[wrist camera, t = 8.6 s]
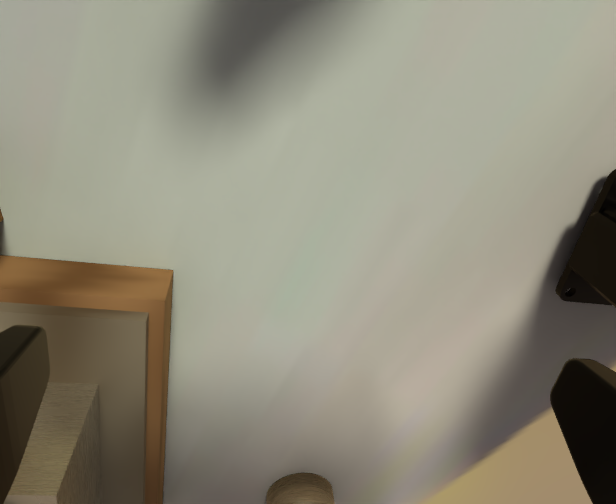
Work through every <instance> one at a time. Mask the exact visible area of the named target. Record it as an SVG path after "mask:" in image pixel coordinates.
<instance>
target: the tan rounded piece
mask: <svg viewBox="0 0 616 504" xmlns="http://www.w3.org/2000/svg"><path fill="white" fill-rule="evenodd" d="M266 503H267V504H335V502H334V496H333V490H332V486H331V484H330V483H329V482H328V481H327V480H326V479H325V478H323V477H321V476H319V475H316V474H312V473H296V474H291V475H288V476H285V477H283V478H281V479H279V480H277V481H276V482H275V483H274V484H273V485H272V486H271V487H270V488H269V490H268V492H267V496H266Z"/></svg>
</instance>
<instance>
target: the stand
mask: <svg viewBox="0 0 616 504" xmlns="http://www.w3.org/2000/svg"><path fill="white" fill-rule="evenodd" d="M172 285H173V270H165V269H153V268H142V267H130V266H119V265H107V264H95V263H84V262H72V261H61V260H49V259H38V258H26V257H15V256H3V255H0V332H2V331H4V330H6V329H7V328H9V327H11V326H13V325H34V326H41V327H43V328H44V329H45V331H46V334H47V342H48V351H49V360H50V377H49V381H48V382H56V383H77V384H98V387H99V414H100V441H101V468H102V494H103V504H162V503H163V481H164V459H165V437H166V416H167V394H168V372H169V350H170V329H171V307H172Z"/></svg>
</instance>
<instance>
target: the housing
mask: <svg viewBox="0 0 616 504" xmlns="http://www.w3.org/2000/svg"><path fill="white" fill-rule="evenodd" d="M4 504H103V494H102V468H101V441H100V414H99V387H98V384H77V383H56V382H48V385H47V388H46V391H45V394H44V397H43V399H42V402H41V405H40V408H39V411H38V414H37V417H36V420H35V423H34V426H33V429H32V432H31V435H30V438H29V441H28V444H27V447H26V449H25V452H24V455H23V458H22V461H21V464H20V467H19V469H18V472H17V475H16V477H15V479H14V482H13V484H12V486H11V489H10V491H9V493H8V495H7V497H6V499H5V501H4Z"/></svg>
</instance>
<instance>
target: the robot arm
mask: <svg viewBox="0 0 616 504" xmlns="http://www.w3.org/2000/svg"><path fill="white" fill-rule="evenodd" d="M569 288H570V290H569V291H567V290H568V289H569ZM566 291H567V292H566ZM556 294H557V295H558V296H559V297H560V298H561V299H562V300H564V301H570V302H581V303H593V304H604V305H613V306H614V307H616V169H615V170H614V171H612V172H611V173H610V174H609V176H608V177H607V179H606V182H605V184H604V186H603V188H602V190H601V192H600V194H599V197H598V199H597V201H596V203H595V205H594V207H593V209H592V212H591V214H590V216H589V218H588V220H587V222H586V224H585V227H584V229H583V231H582V233H581V235H580V237H579V239H578V242H577V244H576V246H575V248H574V250H573V252H572V254H571V257H570V259H569V261H568V263H567V265H566V267H565V269H564V272H563V274H562V276H561V278H560V280H559V282H558V284H557V287H556ZM49 377H50V360H49V351H48V342H47V334H46V331H45V329H44V328H43V327H41V326H34V325H13V326H11V327H9V328H7V329H6V330H4V331H2V332H0V504H4V501H5V499H6V497H7V495H8V493H9V491H10V489H11V486H12V484H13V482H14V479H15V477H16V475H17V472H18V469H19V467H20V464H21V461H22V458H23V455H24V452H25V449H26V447H27V444H28V441H29V438H30V435H31V432H32V429H33V426H34V423H35V420H36V417H37V414H38V411H39V408H40V405H41V402H42V399H43V397H44V394H45V391H46V388H47V385H48V381H49ZM550 401H551V405H552V408H553V410H554V413H555V415H556V418H557V420H558V423H559V425H560V428H561V430H562V433H563V436H564V438H565V441H566V443H567V445H568V448H569V450H570V453H571V456H572V458H573V460H574V463H575V466H576V468H577V471H578V473H579V475H580V477H581V480H582V482H583V484H584V487H585V489H586V490H587V493H588V495H589V497H590V499H591V501H592V503H593V504H616V372H614V371H613V370H611V369H609V368H607V367H605V366H604V365H602V364H600V363H598V362H597V361H594V360H591V359H579V358H573V359H569V360H568V361H567V362H566V363H565V365H564V366H563V368H562V370H561V372H560V374H559V376H558V378H557V380H556V382H555V384H554V386H553V388H552V390H551V394H550Z"/></svg>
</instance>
